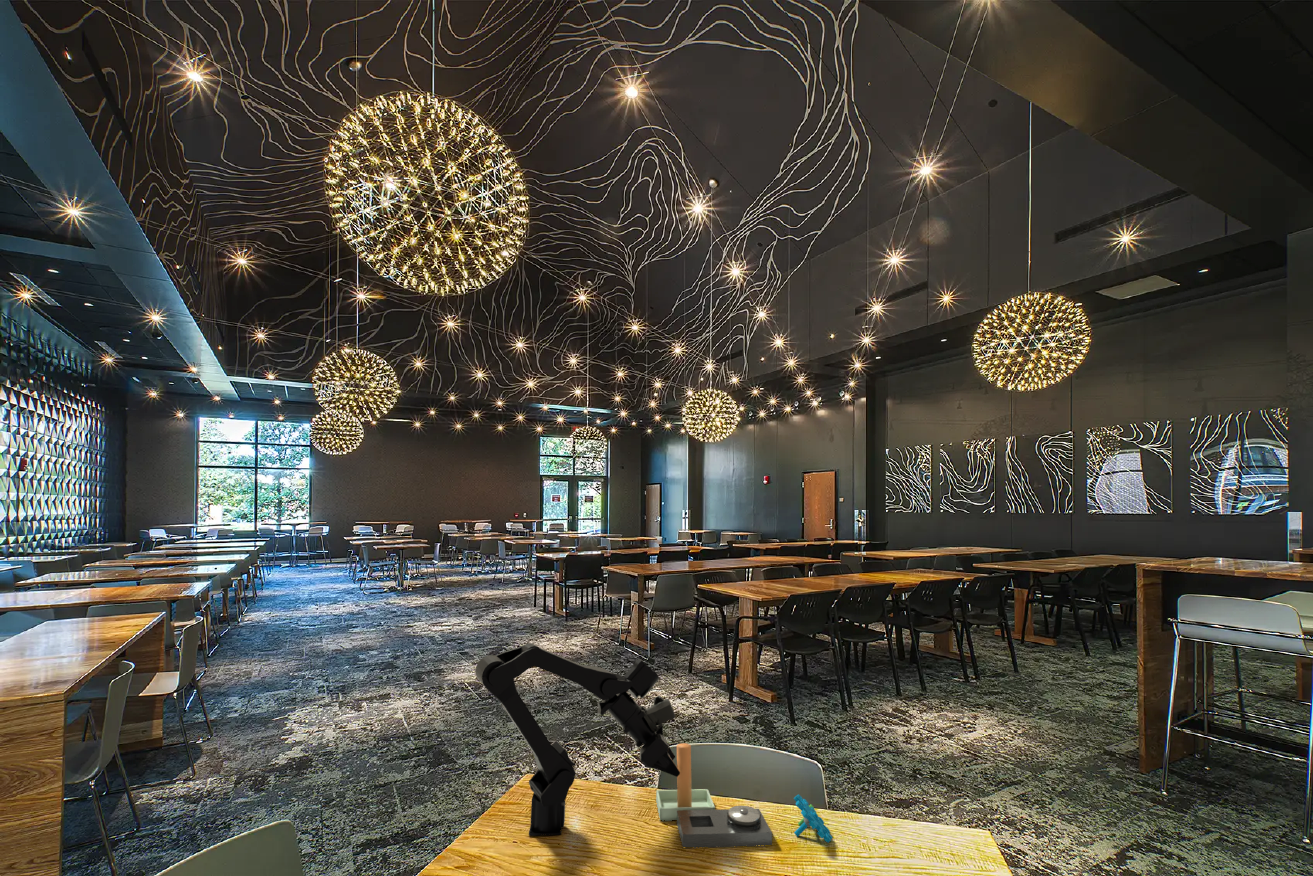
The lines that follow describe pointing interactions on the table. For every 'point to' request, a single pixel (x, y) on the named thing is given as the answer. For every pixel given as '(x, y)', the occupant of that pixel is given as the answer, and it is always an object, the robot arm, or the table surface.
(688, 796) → the pin
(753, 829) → the plate
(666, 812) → the tray
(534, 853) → the table surface
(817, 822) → the gear
